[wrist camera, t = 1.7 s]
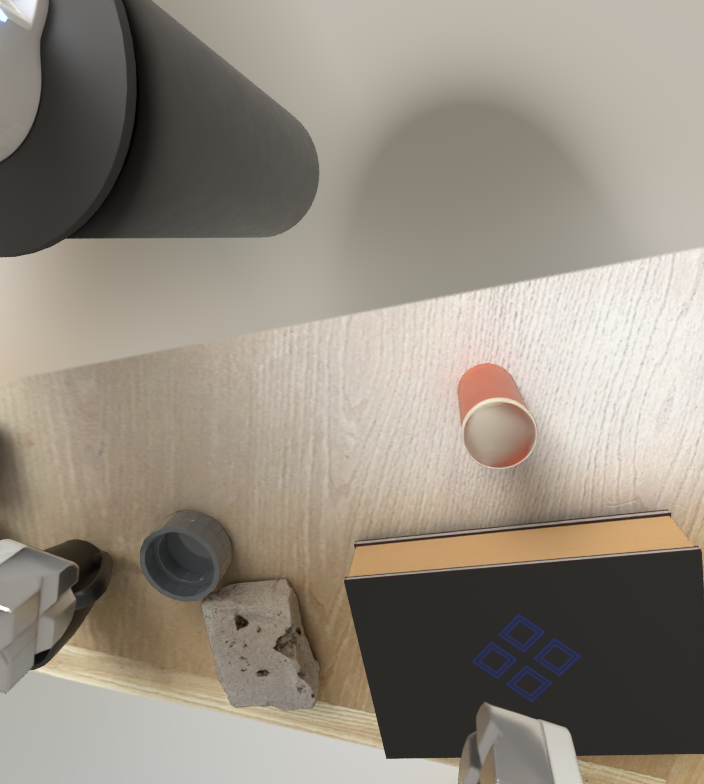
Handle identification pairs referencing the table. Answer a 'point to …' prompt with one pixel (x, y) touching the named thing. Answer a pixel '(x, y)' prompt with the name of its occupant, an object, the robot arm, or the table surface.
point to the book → (535, 633)
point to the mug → (80, 587)
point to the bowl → (186, 556)
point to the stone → (261, 645)
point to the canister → (494, 418)
